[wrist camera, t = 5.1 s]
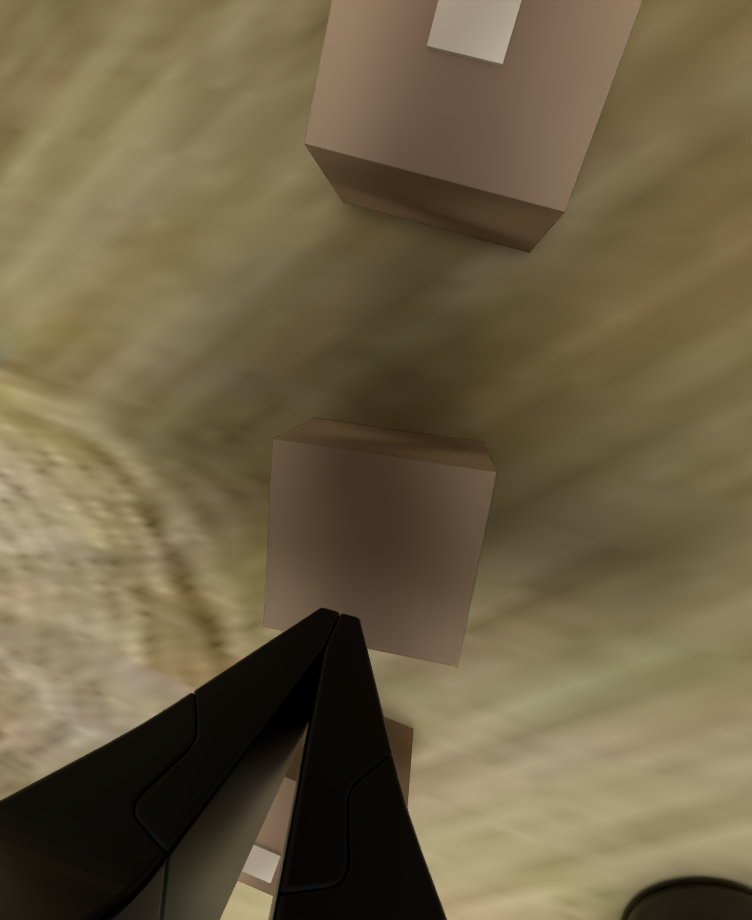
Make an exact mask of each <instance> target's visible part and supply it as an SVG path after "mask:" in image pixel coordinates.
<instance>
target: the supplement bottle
mask: <svg viewBox="0 0 752 920" xmlns="http://www.w3.org/2000/svg"><path fill="white" fill-rule="evenodd" d="M627 920H752V895H749V894H747V893H745V892H742V891H739V890H736V889H732V888H728V887H724V886H718V885H710V884H686V885H678V886H673V887H669V888H665V889H662V890H659V891H657V892H654V893H652V894H650V895H648V896H647V897H645V898H644V899H642V900H641V901H640V902H639V903H638V904H637V905H636V906H635V907H634V908H633V909H632V911H631V912H630V914H629V916H628V918H627Z"/></svg>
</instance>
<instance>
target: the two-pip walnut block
mask: <svg viewBox="0 0 752 920" xmlns="http://www.w3.org/2000/svg"><path fill="white" fill-rule="evenodd" d="M384 720H385V724H386V728H387V732H388V736H389V740H390V744H391V748H392V752H393V755H392V756H393V757H394V760H395V764H396V768H397V772H398V776H399V780H400V784H401V787H402V791H403V794H404V798H405V802H406V805H407V806H408V793H409V780H410V767H411V753H412V740H413V728H410V727H408V726H405V725H403V724H400V723H398V722H395V721H393V720H390V719H388V718H385V717H384ZM307 728H308V725H307ZM307 728H306V730H305V733H304V735H303V738H302V740H301V742H300V744H299V746H298V749H297V751H296V753H295V755H294V757H293V760H292V762H291V764H290V766H289V768H288V771H287V773H286V775H285V777H284V779H283V782H282V784H281V786H280V788H279V790H278V793H277V795H276V797H275V799H274V801H273V804H272V806H271V808H270V810H269V812H268V815H267V817H266V819H265V821H264V823H263V826H262V828H261V830H260V832H259V834H258V837H257V839H256V841H255V843H254V845H253V847H252V850H251V852H250V854H249V856H248V858H247V861H246V863H245V865H244V867H243V869H242V872H241V874H240V876H239V878H238V880H237V881H240V882H242V883H244V884H247V885H249V886H251V887H254V888H256V889H258V890H261V891H263V892H265V893H267V894H270V895H272V896H273V895H274V890H275V885H276V880H277V875H278V870H279V865H280V860H281V855H282V850H283V845H284V840H285V835H286V830H287V826H288V821H289V816H290V811H291V806H292V801H293V796H294V791H295V786H296V781H297V776H298V771H299V766H300V761H301V757H302V752H303V747H304V742H305V737H306V732H307Z"/></svg>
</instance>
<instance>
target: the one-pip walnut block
mask: <svg viewBox="0 0 752 920" xmlns="http://www.w3.org/2000/svg"><path fill="white" fill-rule="evenodd" d="M641 2H642V0H332V4H331V9H330V14H329V19H328V24H327V29H326V34H325V39H324V44H323V50H322V55H321V60H320V65H319V70H318V75H317V80H316V85H315V90H314V95H313V101H312V106H311V111H310V116H309V121H308V126H307V131H306V136H305V141H304V144H305V145H306V147H307V148H308V150H309V152H310V153H311V155H312V156H313V158H314V159H315V161H316V162H317V164H318V165H319V167H320V168H321V170H322V171H323V173H324V174H325V176H326V177H327V179H328V180H329V182H330V183H331V185H332V186H333V188H334V189H335V191H336V192H337V194H338V195H339V197H340V198H341V200H342V201H343V202H345V203H349V204H352V205H356V206H360V207H363V208H367V209H371V210H374V211H378V212H382V213H386V214H389V215H393V216H397V217H400V218H404V219H408V220H411V221H415V222H419V223H422V224H426V225H430V226H433V227H437V228H441V229H444V230H448V231H452V232H456V233H459V234H463V235H467V236H470V237H474V238H478V239H481V240H485V241H489V242H492V243H496V244H500V245H503V246H507V247H511V248H514V249H518V250H522V251H525V252H530V251H531V250H532V249H533V248H534V247H535V245H536V244H537V243H538V242H539V241H540V240H541V239H542V237H543V236H544V235H545V234H546V233H547V232H548V230H549V229H550V228H551V227H552V226H553V225H554V224H555V222H556V221H557V220H558V219H559V218H560V217H561V216H562V214H563V213H564V212H565V210H566V207H567V204H568V201H569V199H570V196H571V193H572V191H573V188H574V185H575V182H576V180H577V177H578V174H579V171H580V169H581V166H582V163H583V161H584V158H585V155H586V152H587V150H588V147H589V144H590V141H591V139H592V136H593V133H594V131H595V128H596V125H597V122H598V120H599V117H600V114H601V112H602V109H603V106H604V103H605V101H606V98H607V95H608V92H609V90H610V87H611V84H612V82H613V79H614V76H615V73H616V71H617V68H618V65H619V62H620V60H621V57H622V54H623V52H624V49H625V46H626V43H627V41H628V38H629V35H630V32H631V30H632V27H633V24H634V22H635V19H636V16H637V13H638V11H639V8H640V5H641Z"/></svg>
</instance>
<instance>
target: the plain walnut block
mask: <svg viewBox="0 0 752 920" xmlns="http://www.w3.org/2000/svg"><path fill="white" fill-rule="evenodd" d="M496 474H497V472H496V470H495V468H494V465H493V463H492V461H491V459H490V456H489V454H488V452H487V450H486V448H485V445H484V443H483V442H479V441H472V440H465V439H458V438H451V437H444V436H437V435H430V434H423V433H415V432H408V431H401V430H394V429H387V428H380V427H373V426H366V425H359V424H352V423H345V422H338V421H331V420H324V419H317V418H313V419H311V420H309V421H307V422H305V423H303V424H301V425H299V426H297V427H295V428H293V429H291V430H289V431H287V432H285V433H283V434H281V435H279V436H277V437H275V438H273V441H272V462H271V482H270V502H269V523H268V543H267V564H266V584H265V604H264V625H263V627H267V628H272V629H277V630H282V631H286V630H287V629H289V628H290V627H292V626H293V625H295V624H296V623H298V622H300V621H301V620H303V619H304V618H306V617H307V616H309V615H310V614H312V613H313V612H315V611H316V610H318V609H319V608H322V607H323V608H327V609H330V610H334V611H337V612H339V615H341V614H343V613H344V614H348V615H351V616H355V617H358V618H359V619H360V622H361V626H362V630H363V634H364V638H365V642H366V646H367V648H368V649H373V650H377V651H382V652H387V653H392V654H397V655H401V656H406V657H411V658H416V659H421V660H425V661H430V662H435V663H440V664H445V665H449V666H454V667H458V664H459V659H460V654H461V649H462V644H463V639H464V634H465V629H466V624H467V619H468V614H469V609H470V604H471V599H472V594H473V589H474V584H475V579H476V574H477V569H478V564H479V559H480V554H481V549H482V544H483V539H484V534H485V529H486V524H487V519H488V514H489V509H490V504H491V499H492V494H493V489H494V484H495V479H496Z"/></svg>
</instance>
